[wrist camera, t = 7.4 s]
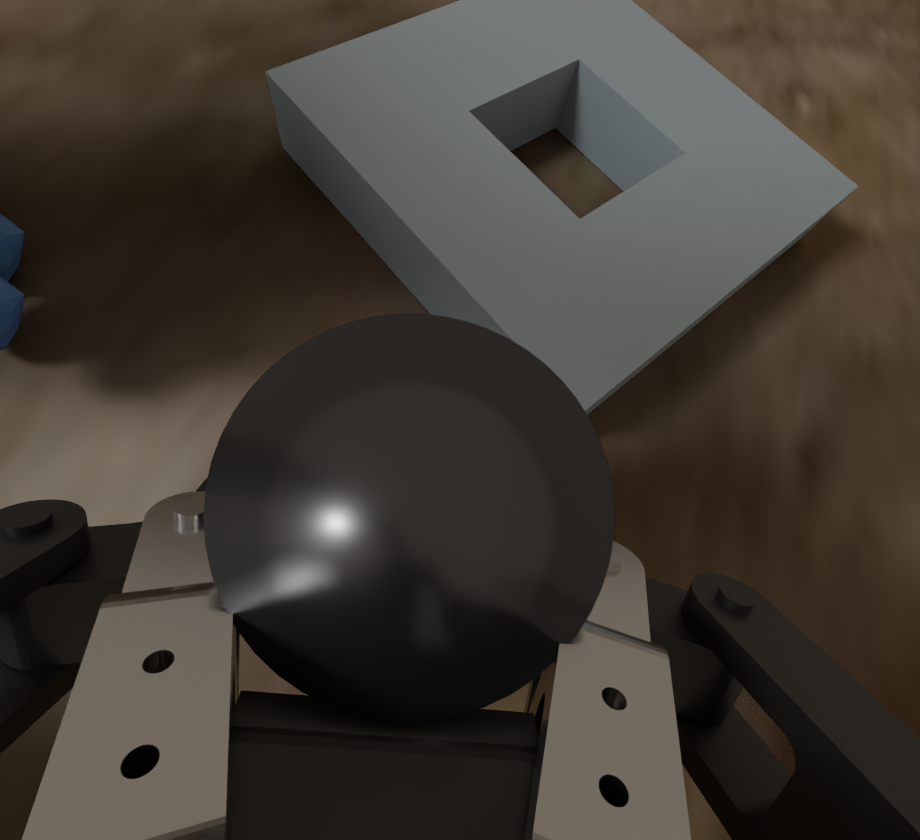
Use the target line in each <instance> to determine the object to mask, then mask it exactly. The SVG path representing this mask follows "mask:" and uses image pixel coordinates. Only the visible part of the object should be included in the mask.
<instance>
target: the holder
mask: <svg viewBox="0 0 920 840" xmlns="http://www.w3.org/2000/svg"><path fill="white" fill-rule="evenodd" d="M265 72H266V76H267V81H268V85H269V90H270V94H271V98H272V103H273V107H274V112H275V116H276V120H277V125H278V129H279V134H280V138H281V142H282V147H283V148H284V150H285V151H286V152H287V153H288V154H289V155H290V156H291V157H292V159H293V160H294V161H295V162H296V163H297V164H298V165H299V166H300V168H301V169H302V170H303V171H304V172H305V173H306V174H307V176H308V177H309V178H310V179H311V180H312V181H313V182H314V183H315V185H316V186H317V187H318V188H319V189H320V190H321V191H322V192H323V194H324V195H325V196H326V197H327V198H328V199H329V200H330V201H331V203H332V204H333V205H334V206H335V207H336V208H337V209H338V210H339V212H340V213H341V214H342V215H343V216H344V217H345V218H346V219H347V221H348V222H349V223H350V224H351V225H352V226H353V227H354V228H355V230H356V231H357V232H358V233H359V234H360V235H361V236H362V238H363V239H364V240H365V241H366V242H367V243H368V244H369V245H370V247H371V248H372V249H373V250H374V251H375V252H376V253H377V254H378V256H379V257H380V258H381V259H382V260H383V261H384V262H385V263H386V265H387V266H388V267H389V268H390V269H391V270H392V271H393V272H394V274H395V275H396V276H397V277H398V278H399V279H400V280H401V281H402V283H403V284H404V285H405V286H406V287H407V288H408V289H409V290H410V292H411V293H412V294H413V295H414V296H415V297H416V298H417V300H418V301H419V302H420V303H421V304H422V305H423V306H424V307H425V309H426V310H427V311H428V312H429V313H430V314H431V315H438V316H445V317H450V318H454V319H459V320H463V321H467V322H470V323H473V324H476V325H479V326H482V327H485V328H488V329H490V330H492V331H494V332H496V333H498V334H500V335H503V336H505V337H507V338H509V339H510V340H512V341H514V342H515V343H517V344H518V345H520V346H522V347H523V348H525V349H527V350H528V351H529V352H531V353H532V354H533V355H534V356H536V357H537V358H538V359H540V360H541V361H542V362H543V363H545V364H546V365H547V366H548V367H549V368H550V369H551V370H552V371H553V372H554V373H555V374H556V375H557V376H558V377H559V378H560V379H561V380H562V381H563V382H564V383H565V385H566V386H567V387H568V388H569V389H570V391H571V392H572V393H573V394H574V396H575V397H576V398H577V400H578V401H579V403H580V404H581V406H582V407H583V409H584V411H585V412H586V414H587V415H588V414H589V413H591V412H592V411H593V410H594V409H595V408H597V407H598V406H599V405H600V404H601V403H603V402H604V401H605V400H606V399H607V398H609V397H610V396H611V395H612V394H614V393H615V392H616V391H617V390H618V389H620V388H621V387H622V386H623V385H624V384H626V383H627V382H628V381H629V380H630V379H632V378H633V377H634V376H635V375H636V374H638V373H639V372H640V371H641V370H643V369H644V368H645V367H646V366H647V365H649V364H650V363H651V362H652V361H653V360H655V359H656V358H657V357H658V356H659V355H661V354H662V353H663V352H664V351H666V350H667V349H668V348H669V347H670V346H672V345H673V344H674V343H675V342H676V341H678V340H679V339H680V338H681V337H682V336H684V335H685V334H686V333H687V332H688V331H690V330H691V329H692V328H693V327H695V326H696V325H697V324H698V323H699V322H701V321H702V320H703V319H704V318H705V317H707V316H708V315H709V314H710V313H711V312H713V311H714V310H715V309H716V308H717V307H719V306H720V305H721V304H722V303H724V302H725V301H726V300H727V299H728V298H730V297H731V296H732V295H733V294H734V293H736V292H737V291H738V290H739V289H740V288H742V287H743V286H744V285H745V284H747V283H748V282H749V281H750V280H751V279H753V278H754V277H755V276H756V275H757V274H759V273H760V272H761V271H762V270H763V269H765V268H766V267H767V266H768V265H769V264H771V263H772V262H773V261H774V260H776V259H777V258H778V257H779V256H780V255H782V254H783V253H784V252H785V251H786V250H788V249H789V248H790V247H791V246H792V245H794V244H795V243H796V242H797V241H799V240H800V239H801V238H802V237H803V236H804V235H805V234H806V233H807V232H809V231H810V230H811V229H812V228H813V227H814V226H815V225H816V224H817V223H819V222H820V221H821V220H822V219H823V218H824V217H825V216H826V215H827V214H828V213H830V212H831V211H832V210H833V209H834V208H835V207H836V206H837V205H838V204H840V203H841V202H842V201H843V200H844V199H845V198H846V197H847V196H848V195H850V194H851V193H852V192H853V191H854V190H855V189H856V188H857V187H858V185H856V184H855V183H854V182H853V181H851V180H850V179H849V178H848V177H847V176H845V175H844V174H843V173H842V172H840V171H839V170H838V169H837V168H836V167H834V166H833V165H832V164H831V163H829V162H828V161H827V160H826V159H825V158H823V157H822V156H821V155H820V154H818V153H817V152H816V151H815V150H814V149H812V148H811V147H810V146H809V145H807V144H806V143H805V142H804V141H803V140H801V139H800V138H799V137H798V136H796V135H795V134H794V133H793V132H792V131H790V130H789V129H788V128H787V127H785V126H784V125H783V124H782V123H781V122H779V121H778V120H777V119H776V118H774V117H773V116H772V115H771V114H770V113H768V112H767V111H766V110H765V109H763V108H762V107H761V106H760V105H759V104H757V103H756V102H755V101H754V100H753V99H751V98H750V97H749V96H748V95H746V94H745V93H744V92H743V91H742V90H740V89H739V88H738V87H737V86H735V85H734V84H733V83H732V82H731V81H729V80H728V79H727V78H726V77H724V76H723V75H722V74H721V73H720V72H718V71H717V70H716V69H715V68H713V67H712V66H711V65H710V64H709V63H707V62H706V61H705V60H704V59H702V58H701V57H700V56H699V55H698V54H696V53H695V52H694V51H693V50H691V49H690V48H689V47H688V46H687V45H685V44H684V43H683V42H682V41H680V40H679V39H678V38H677V37H676V36H674V35H673V34H672V33H671V32H669V31H668V30H667V29H666V28H665V27H663V26H662V25H661V24H660V23H658V22H657V21H656V20H655V19H654V18H652V17H651V16H650V15H649V14H648V13H646V12H645V11H644V10H643V9H641V8H640V7H639V6H638V5H637V4H635V3H634V2H633V1H632V0H460V1H457V2H454V3H452V4H449V5H446V6H443V7H441V8H438V9H435V10H432V11H430V12H427V13H424V14H421V15H419V16H416V17H413V18H410V19H408V20H405V21H402V22H399V23H397V24H394V25H391V26H389V27H386V28H383V29H380V30H378V31H375V32H372V33H369V34H367V35H364V36H361V37H358V38H356V39H353V40H350V41H347V42H345V43H342V44H339V45H337V46H334V47H331V48H328V49H326V50H323V51H320V52H317V53H315V54H312V55H309V56H306V57H304V58H301V59H298V60H295V61H293V62H290V63H287V64H285V65H282V66H279V67H276V68H274V69H271V70H268V71H265ZM554 128H556V129H557V130H558V131H559V132H560V133H561V134H562V135H563V136H564V137H565V138H567V139H568V140H569V141H570V142H571V143H572V144H573V145H574V146H575V147H576V148H577V149H578V150H579V151H580V152H582V153H583V154H584V155H585V156H586V157H587V158H588V159H589V160H590V161H591V162H592V163H593V164H594V165H596V166H597V167H598V168H599V169H600V170H601V171H602V172H603V173H604V174H605V175H606V176H607V177H608V178H609V179H611V180H612V181H613V182H614V183H615V184H616V185H617V186H618V187H619V188H620V189H621V190H622V191H623V192H622V193H621V194H619V195H617V196H616V197H614V198H613V199H611V200H609V201H608V202H606V203H605V204H603V205H602V206H600V207H598V208H597V209H595V210H594V211H592V212H590V213H589V214H587V215H586V216H584V217H582V218H581V219H579V218H578V217H577V216H576V215H575V214H574V213H573V212H572V211H571V210H570V209H569V208H568V207H567V206H566V205H565V204H564V203H563V202H562V201H561V200H560V199H559V198H558V197H557V196H556V195H555V194H554V193H553V192H552V191H551V190H550V189H549V188H548V187H546V186H545V185H544V184H543V183H542V182H541V181H540V180H539V179H538V178H537V177H536V176H535V175H534V174H533V173H532V172H531V171H530V170H529V169H528V168H527V167H526V166H525V165H524V164H523V163H522V162H521V161H520V160H519V159H518V158H517V157H516V156H515V155H514V154H513V153H512V152H511V151H512V150H514V149H516V148H518V147H520V146H522V145H524V144H526V143H528V142H529V141H531V140H533V139H535V138H537V137H539V136H541V135H543V134H545V133H547V132H549V131H551V130H552V129H554Z"/></svg>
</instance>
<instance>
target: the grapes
mask: <svg viewBox="0 0 920 840" xmlns="http://www.w3.org/2000/svg"><path fill="white" fill-rule="evenodd" d="M23 239H24V231H22V230H21V229H20V228H19V227H17V226H16V225H15V224H14V223H12V222H11V221H10V220H9V219H7V218H6V217H5V216H3V215H2V214H0V350H2V349H4V348H5V347H6V346H7V345H8V343H9V342H10V340H11V339H12V338H13V336H14V335H15V333H16V332H17V330H18V328H19V323H20V319H21V314H22V309H23V298H24V294H23V293H21V292H20V291H19V290H18V289H16V288H15V287H14V286H12V285H11V284H10V283H8V281H9V279H10V278H11V276H12V275H13V274H14V272H15V271H16V269H17V268H18V267H19V263H20V258H21V253H22V249H23Z"/></svg>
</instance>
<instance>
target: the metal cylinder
mask: <svg viewBox="0 0 920 840" xmlns="http://www.w3.org/2000/svg"><path fill="white" fill-rule="evenodd" d="M203 519H204V535H205V547H206V552H207V557H208V561H209V566H210V571H211V575H212V578H213V580H214V583H215V586H216V588H217V591H218V594H219V597H220V599H221V602H222V604H223V606H224V608H225V609H226V611H227V613H233V624H234V626H235V627H236V629H237V630H238V632H239V633H240V634H241V636H242V637H243V638H244V640H245V641H246V642H247V644H248V645H249V646H250V647H251V649H252V650H253V651H254V653H255V654H256V655H257V656H258V657H259V658H260V659H261V660H263V661H264V662H265V663H266V664H267V665H268V666H269V667H270V668H271V669H272V670H273V671H274V672H275V673H276V674H277V675H278V676H280V677H281V678H283V679H284V680H286V681H287V682H288V683H290V684H291V685H293V686H294V687H296V688H297V689H298V690H300V691H301V692H303V693H305V694H307V695H309V696H311V697H313V698H315V699H317V700H319V701H321V702H323V703H325V704H327V705H329V706H331V707H334V708H337V709H340V710H343V711H347V712H350V713H353V714H356V715H359V716H364V717H370V718H377V719H383V720H390V721H427V720H434V719H440V718H447V717H454V716H457V715H461V714H464V713H467V712H470V711H474V710H477V709H480V708H483V707H486V706H488V705H490V704H492V703H494V702H496V701H498V700H500V699H502V698H505V697H507V696H509V695H511V694H512V693H514V692H515V691H517V690H518V689H520V688H521V687H523V686H524V685H526V684H527V683H529V682H530V681H532V680H533V679H535V678H536V677H537V676H538V675H540V674H541V673H542V672H543V671H544V670H545V669H546V668H547V667H548V666H550V665H551V664H552V663H553V662H554V661H555V660H556V656H557V652H558V648H559V644H570V643H571V642H572V641H573V639H574V638H575V637H576V635H577V634H578V632H579V631H580V629H581V628H582V626H583V624H584V623H585V621H586V620H587V618H588V616H589V615H590V613H591V611H592V609H593V607H594V605H595V602H596V600H597V598H598V596H599V594H600V591H601V589H602V586H603V583H604V580H605V576H606V573H607V570H608V567H609V563H610V558H611V552H612V546H613V540H614V522H615V507H614V496H613V486H612V481H611V476H610V472H609V467H608V462H607V459H606V456H605V454H604V451H603V448H602V445H601V442H600V439H599V437H598V435H597V433H596V431H595V429H594V427H593V425H592V423H591V421H590V418H589V417H588V415H587V414H586V412H585V411H584V409H583V407H582V406H581V404H580V403H579V401H578V400H577V398H576V397H575V396H574V394H573V393H572V392H571V391H570V389H569V388H568V387H567V386H566V385H565V383H564V382H563V381H562V380H561V379H560V378H559V377H558V376H557V375H556V374H555V373H554V372H553V371H552V370H551V369H550V368H549V367H548V366H547V365H546V364H545V363H543V362H542V361H541V360H540V359H538V358H537V357H536V356H534V355H533V354H532V353H531V352H529V351H528V350H527V349H525V348H523V347H522V346H520V345H518V344H517V343H515V342H514V341H512V340H510V339H509V338H507V337H505V336H503V335H500V334H498V333H496V332H494V331H492V330H490V329H488V328H485V327H482V326H479V325H476V324H473V323H470V322H467V321H463V320H459V319H454V318H450V317H445V316H438V315H428V314H391V315H383V316H374V317H370V318H365V319H361V320H357V321H353V322H349V323H346V324H344V325H341V326H338V327H335V328H333V329H330V330H327V331H325V332H323V333H321V334H319V335H317V336H315V337H313V338H311V339H309V340H307V341H306V342H304V343H303V344H301V345H300V346H298V347H297V348H295V349H293V350H292V351H290V352H289V353H287V354H286V355H285V356H283V357H282V358H281V359H280V360H279V361H278V362H276V363H275V364H274V365H273V366H272V367H271V368H269V369H268V370H267V371H266V372H265V373H264V374H263V375H262V376H261V377H260V378H259V380H258V381H257V382H256V383H255V384H254V385H253V386H252V387H251V388H250V389H249V390H248V392H247V393H246V395H245V396H244V398H243V399H242V400H241V402H240V403H239V405H238V406H237V407H236V409H235V410H234V412H233V414H232V415H231V417H230V419H229V421H228V423H227V425H226V427H225V429H224V431H223V433H222V434H221V437H220V439H219V442H218V445H217V448H216V450H215V453H214V456H213V458H212V461H211V466H210V470H209V475H208V479H207V484H206V489H205V502H204V514H203Z"/></svg>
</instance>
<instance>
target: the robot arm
mask: <svg viewBox="0 0 920 840" xmlns="http://www.w3.org/2000/svg"><path fill="white" fill-rule="evenodd" d="M207 479H208V477H207ZM207 479H206V480H205V481H204V482H203V483H202V484H201V486H200V487H199V488H198V489H197V490H196V491H195V492H187V493H181V494H177V495H174V496H171V497H168V498H166V499H164V500H161V501H160V502H158V503H156V504H155V505H154V506H152V507H151V508H150V509H149V510H148V512H147V513H146V515H145V517H144V520H143V522H138V523H130V524H118V525H106V526H94V527H88V522H87V516H86V512H85V510H84V509H83V508H82V507H81V506H79V505H78V504H75V503H73V502H69V501H64V500H37V501H29V502H24V503H19V504H16V505H12V506H8V507H6V508H3V509H0V754H1V753H2V752H3V751H4V750H5V749H6V748H7V747H8V746H9V745H10V744H11V743H13V742H14V741H15V740H16V739H17V738H18V737H19V736H20V735H21V734H22V733H23V732H25V731H26V730H27V729H28V728H29V727H30V726H31V725H32V724H33V723H34V722H36V721H37V720H38V719H39V718H40V717H41V716H42V715H43V714H44V713H45V712H46V711H48V710H49V709H50V708H51V707H52V706H53V705H54V704H55V703H56V702H57V701H58V700H60V699H61V698H62V697H63V696H64V695H65V694H66V693H67V692H68V691H69V690H70V689H72V688H73V689H72V692H71V695H70V698H69V701H68V704H67V707H66V710H65V713H64V716H63V719H62V722H61V725H60V728H59V731H58V734H57V737H56V740H55V743H54V746H53V749H52V751H51V754H50V757H49V760H48V763H47V766H46V769H45V772H44V775H43V778H42V781H41V784H40V787H39V790H38V793H37V796H36V799H35V802H34V805H33V808H32V811H31V813H30V816H29V819H28V822H27V825H26V828H25V831H24V834H23V837H22V839H21V840H691V834H690V826H689V818H688V810H687V802H686V793H685V785H684V777H683V769H682V764H683V766H684V767H685V769H686V770H687V772H688V773H689V775H690V776H691V778H692V779H693V781H694V782H695V784H696V785H697V787H698V788H699V790H700V791H701V793H702V794H703V796H704V797H705V799H706V800H707V802H708V804H709V805H710V807H711V808H712V810H713V811H714V813H715V814H716V816H717V817H718V819H719V820H720V822H721V823H722V825H723V826H724V828H725V829H726V831H727V832H728V834H729V835H730V837H731V838H732V840H920V738H919V737H918V736H917V735H916V734H914V733H913V732H912V731H911V730H910V729H909V728H908V727H907V726H906V725H904V724H903V723H902V722H901V721H900V720H899V719H898V718H897V717H896V716H894V715H893V714H892V713H891V712H890V711H889V710H888V709H887V708H886V707H884V706H883V705H882V704H881V703H880V702H879V701H878V700H877V699H876V698H874V697H873V696H872V695H871V694H870V693H869V692H868V691H867V690H866V689H864V688H863V687H862V686H861V685H860V684H859V683H858V682H857V681H856V680H854V679H853V678H852V677H851V676H850V675H849V674H848V673H847V672H845V671H844V670H843V669H842V668H841V667H840V666H839V665H838V664H837V663H835V662H834V661H833V660H832V659H831V658H830V657H829V656H828V655H827V654H825V653H824V652H823V651H822V650H821V649H820V648H819V647H818V646H817V645H815V644H814V643H813V642H812V641H811V640H810V639H809V638H808V637H807V636H805V635H804V634H803V633H802V632H801V631H800V630H799V629H798V628H797V627H795V626H794V625H793V624H792V623H791V622H790V621H789V620H788V619H787V618H785V617H784V616H783V615H782V614H781V613H780V612H779V611H778V610H777V609H775V608H774V607H773V606H772V605H771V604H770V603H769V602H768V601H766V600H765V599H764V598H763V597H762V596H761V595H760V594H758V593H757V592H756V591H754V590H753V589H751V588H750V587H748V586H746V585H745V584H743V583H741V582H739V581H737V580H734V579H732V578H729V577H726V576H723V575H718V574H711V573H705V574H700V575H698V576H696V577H695V578H694V579H693V581H692V583H691V585H690V587H689V590H688V591H685V590H682V589H679V588H676V587H673V586H670V585H667V584H664V583H661V582H658V581H655V580H652V579H650V578H648V577H645V571H644V567H643V565H642V563H641V561H640V560H639V559H638V558H637V557H636V555H635V554H633V553H632V552H631V551H630V550H628V549H627V548H626V547H624V546H622V545H620V544H618V543H616V542H614V541H613V546H612V552H611V558H610V563H609V567H608V570H607V573H606V576H605V580H604V583H603V586H602V589H601V591H600V594H599V596H598V598H597V600H596V602H595V605H594V607H593V609H592V611H591V613H590V615H589V616H588V618H587V620H586V621H585V623H584V624H583V626H582V628H581V629H580V631H579V632H578V634H577V635H576V637H575V638H574V639H573V641H572V642H571V643H570V644H559V648H558V652H557V656H556V660H555V661H554V662H553V663H552V664H551V665H550V666H548V667H547V668H546V669H545V670H544V671H543V672H542V673H541V674H540V675H538V676H537V677H536V678H535V679H533V680H532V681H530V684H529V690H528V695H527V700H526V705H525V710H524V712H513V711H500V710H487V709H477V710H474V711H470V712H467V713H464V714H461V715H457V716H454V717H447V718H440V719H434V720H427V721H390V720H383V719H377V718H370V717H364V716H359V715H356V714H353V713H350V712H347V711H343V710H340V709H337V708H334V707H331V706H329V705H327V704H325V703H323V702H321V701H319V700H317V699H315V698H313V697H311V696H305V695H292V694H279V693H266V692H253V691H241V692H240V695H239V654H240V633H239V632H238V630H237V629H236V627H235V626H234V624H233V613H227V611H226V609H225V608H224V606H223V604H222V602H221V599H220V597H219V594H218V591H217V588H216V586H215V583H214V580H213V578H212V575H211V571H210V566H209V561H208V557H207V552H206V547H205V535H204V519H203V514H204V502H205V489H206V484H207ZM743 687H744V688H745V689H746V690H747V692H748V693H749V694H750V695H751V696H752V697H753V698H754V700H755V701H756V702H757V703H758V704H759V705H760V706H761V707H762V709H763V710H764V711H765V712H766V713H767V714H768V715H769V717H770V718H771V719H772V720H773V721H774V722H775V723H776V725H777V726H778V727H779V728H780V729H781V730H782V732H783V733H784V734H785V735H786V737H787V738H788V740H789V742H790V744H791V746H792V748H793V751H794V754H795V760H796V767H795V771H794V773H793V775H792V776H791V775H790V774H789V772H788V771H787V770H786V769H785V768H784V766H783V765H782V764H781V763H780V761H779V760H778V759H777V758H776V757H775V755H774V754H773V753H772V752H771V751H770V749H769V748H768V747H767V746H766V745H765V743H764V742H763V741H762V740H761V739H760V737H759V736H758V735H757V734H756V732H755V731H754V730H753V729H752V728H751V726H750V725H749V724H748V723H747V722H746V720H745V719H744V718H743V717H742V716H741V714H740V713H739V712H738V711H737V710H736V708H735V707H734V706H733V705H734V703H735V701H736V699H737V698H738V696H739V694H740V692H741V691H742V689H743Z"/></svg>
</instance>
